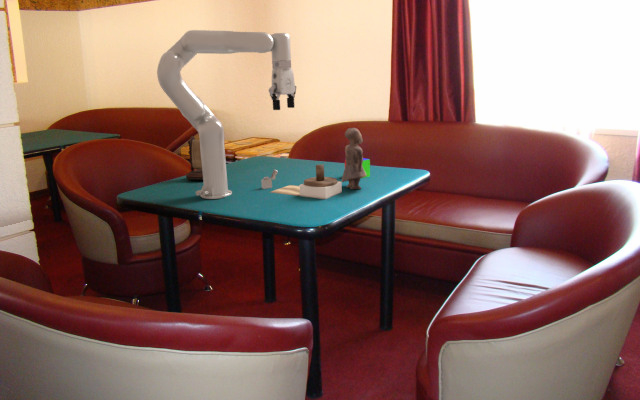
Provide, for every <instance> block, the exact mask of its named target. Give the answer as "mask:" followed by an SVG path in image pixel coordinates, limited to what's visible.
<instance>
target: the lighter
mask: <svg viewBox="0 0 640 400" xmlns="http://www.w3.org/2000/svg"><path fill="white" fill-rule="evenodd" d="M278 172H279V171H278V170H277V169H273V170H272V173H271V175H270V176H264V177H263V178H262V179H261V181H260V182H261V189H262V190H265V189H272V188H273V181H275V180H276V178H277V175H278Z"/></svg>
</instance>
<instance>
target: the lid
mask: <svg viewBox="0 0 640 400" xmlns="http://www.w3.org/2000/svg"><path fill="white" fill-rule="evenodd" d="M324 165H325V164H316V165H315V176H314V177H313V176H312V177H309V178H306V179H304V180H303V183H304V185H306V186H310V187H326V186H332V185H335V184H337V181H338V179H337V178H336V177H330V176H325V166H324Z"/></svg>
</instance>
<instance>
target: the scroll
mask: <svg viewBox="0 0 640 400" xmlns="http://www.w3.org/2000/svg"><path fill="white" fill-rule="evenodd" d="M187 144H188V154H189V164H190V170H191V171H189V172H188V173H186V174H185V177H186V179H187V181H188V182H190V180H203V172H202V160H201V151H200V139H196V138H195V136H194V135H191V136H190V138H189V140H188V141H187Z"/></svg>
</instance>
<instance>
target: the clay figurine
mask: <svg viewBox="0 0 640 400" xmlns="http://www.w3.org/2000/svg"><path fill="white" fill-rule="evenodd" d="M344 138H346V139H348V140H349V144H347V145H346V146H345V148H344V153H345V160H346V166H345V165H344V171H343V173H342V177H341V183H345V182H346V181H348V184H347V185H346V188H349V189H351V190H361V189H362V187H361V186H360V185H359V184H360V181H361V179H364V178H363V177H365V176H367V175H366V173H365V171H364V169H363V166H362V163H363V158H364V156H363V152H364V151H363V148H362V147H360V146H359V145H361V144H362V143H364V140H363V136H362V134H361V132H360V130H359V129H358V128H356V127H350V128H347V129H346V131H345V132H344ZM365 178H366V177H365Z"/></svg>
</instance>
